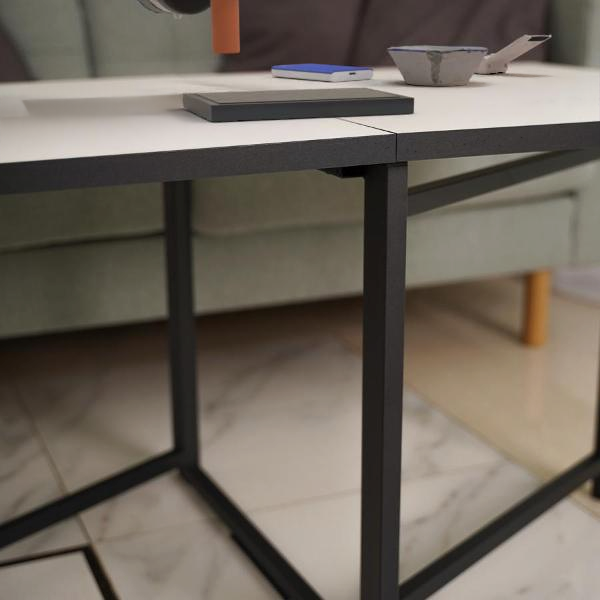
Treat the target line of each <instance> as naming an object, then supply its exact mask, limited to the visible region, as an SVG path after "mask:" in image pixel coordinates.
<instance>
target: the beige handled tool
mask: <svg viewBox="0 0 600 600" xmlns="http://www.w3.org/2000/svg"><path fill="white" fill-rule="evenodd" d="M551 38H552V34H549V35H545V34H544V35H543V34H542V35H541V34H540V35H538V34H534V35H528V34H523V36H520V37H519V38H517V39H515V40H514V41H513V42H511V43H510V44H508V45H507V46H505V47H503V48H502V49H500V50H499V51H497V52H495V53H490V54H487V53H486V55H485V56H484V58H483V60H482V61H481V63H480V65H479V66H478V68H477V69H476V71H475V72H474V74H481V75H491V74H490V73H496V74H499V73H498V72H505V73H507V71H508V70H509V69H508V68H509V65H510V62H512V61H514V60H515V59H517V58H518V57H520V56H521V55H523V54H525V53H527V52H529V51H530V50H532V49H533V48H535V47H537V46H538V45H540V44H542V43H543V42H546V41H547V40H549V39H551Z"/></svg>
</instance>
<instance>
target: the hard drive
mask: <svg viewBox="0 0 600 600" xmlns="http://www.w3.org/2000/svg"><path fill="white" fill-rule="evenodd" d="M271 76H272V77H274V78H275V77H276V78H285V79H295V80H297V79H298V80H309V81H319V82H330V83H338V82H350V81H363V80H364V81H365V80H372V79H373V78H374V69H373V68H371V67H360V66H358V67H357V66H347V65H334V64H322V63H298V64H297V63H295V64H281V65H273V66H271Z"/></svg>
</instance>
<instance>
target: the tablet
mask: <svg viewBox="0 0 600 600" xmlns="http://www.w3.org/2000/svg"><path fill="white" fill-rule="evenodd" d="M183 107H184V108H186V109H188V110H190V111H192V112H194V113H196V114H198V115H197V116H199V115H200V116H199V117H201V116H202V117H201V118H203V117H204V118H203V119H205V118H206V119H205V120H207V121H209V122H211V123H219V122H218V121H229V122H239V121H238V120H252V121H263V120H262V119H276V120H290V119H289V118H299V119H306V118H305V117H322V118H341V117H345V118H346V117H365V116H387V115H388V116H390V115H412V114H414V113H415V97H411V96H407V95H402V94H397V93H394V92H393V93H392V92H388V91H384V90H383V91H382V90H379V89H373V88H369V87H337V88H307V89H306V88H305V89H277V90H276V89H275V90H247V91H246V90H245V91H244V90H243V91H213V92H212V91H211V92H184V93H182V108H183ZM184 108H183V109H184ZM186 109H185V110H186ZM188 110H187V111H188ZM190 111H189V112H190ZM192 112H191V113H192ZM194 113H193V114H194ZM196 114H195V115H196Z"/></svg>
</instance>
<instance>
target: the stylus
mask: <svg viewBox="0 0 600 600" xmlns="http://www.w3.org/2000/svg"><path fill="white" fill-rule="evenodd" d="M210 22H211V23H210V25H211V28H210V29H211V51H212V54H239V53H240V52H241V40H240V2H239V0H211V7H210Z"/></svg>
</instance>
